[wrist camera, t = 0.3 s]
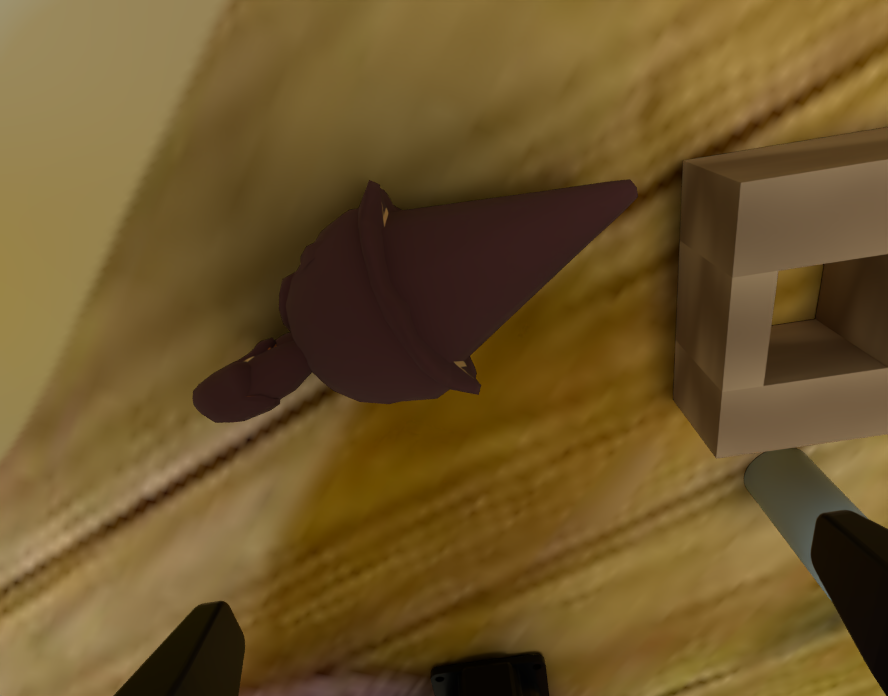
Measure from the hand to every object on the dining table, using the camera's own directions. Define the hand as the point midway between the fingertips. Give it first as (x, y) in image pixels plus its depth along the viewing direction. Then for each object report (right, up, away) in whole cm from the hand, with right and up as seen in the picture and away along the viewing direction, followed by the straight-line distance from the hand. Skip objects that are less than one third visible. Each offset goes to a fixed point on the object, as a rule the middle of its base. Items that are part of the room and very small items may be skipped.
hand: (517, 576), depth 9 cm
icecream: (-2, +7, +13) cm, 15 cm away
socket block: (+15, +7, +13) cm, 21 cm away
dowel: (+14, -2, +18) cm, 23 cm away
